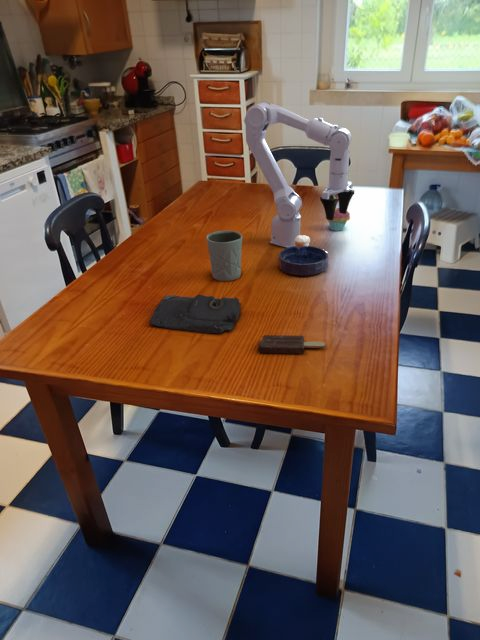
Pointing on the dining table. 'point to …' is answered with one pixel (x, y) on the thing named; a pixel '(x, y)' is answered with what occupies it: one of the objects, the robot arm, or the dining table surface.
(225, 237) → the grey green cup
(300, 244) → the milkshake
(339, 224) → the cupcake
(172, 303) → the black snap pouch
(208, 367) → the dining table surface
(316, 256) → the bowl
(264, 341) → the ice cream bar
